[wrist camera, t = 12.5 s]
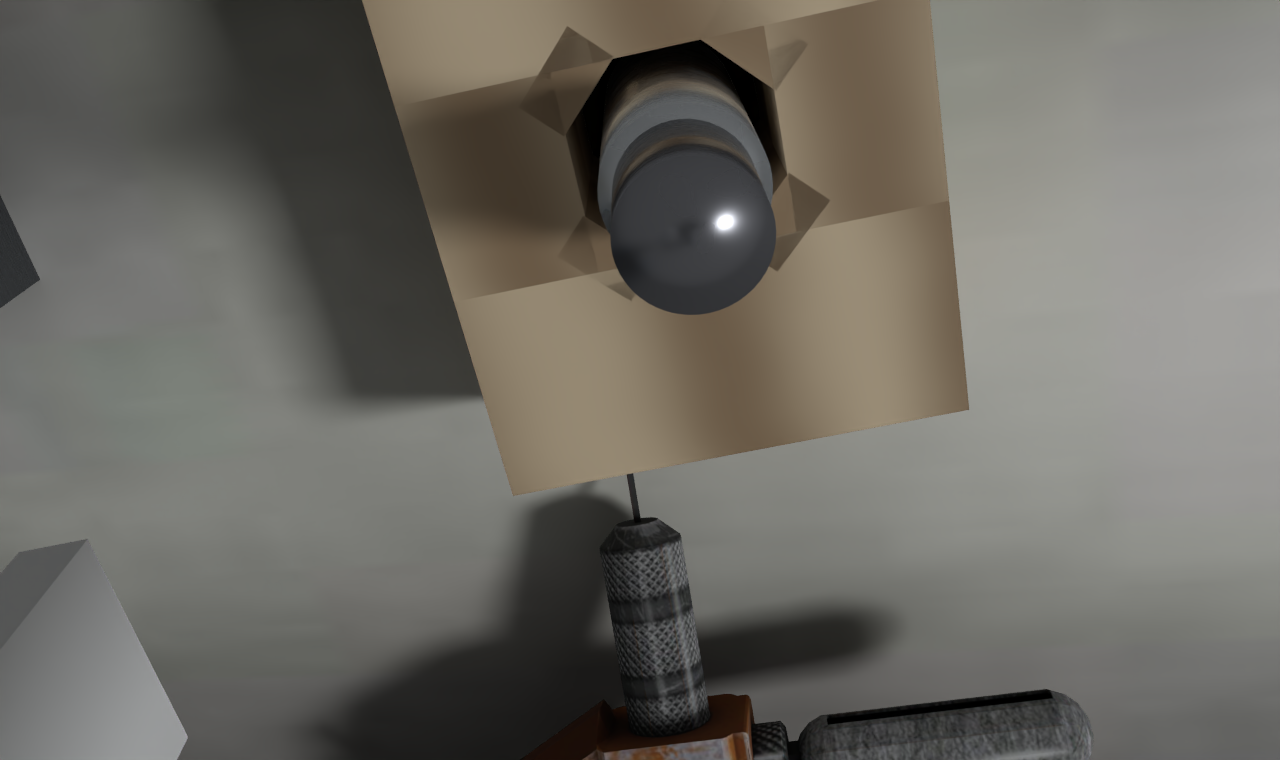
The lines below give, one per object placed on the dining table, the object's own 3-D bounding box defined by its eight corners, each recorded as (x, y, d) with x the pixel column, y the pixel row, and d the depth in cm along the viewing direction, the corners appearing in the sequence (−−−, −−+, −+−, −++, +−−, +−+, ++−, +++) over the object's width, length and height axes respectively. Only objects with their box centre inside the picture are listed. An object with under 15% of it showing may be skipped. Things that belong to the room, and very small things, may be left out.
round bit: (620, 178, 32) (618, 346, 21) (591, 52, 30) (572, 163, 19) (744, 151, 32) (807, 308, 21) (721, 22, 30) (775, 118, 19)
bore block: (531, 395, 35) (513, 495, 29) (373, -162, 28) (312, -165, 23) (914, 320, 34) (969, 409, 28) (845, -275, 27) (900, -308, 22)
